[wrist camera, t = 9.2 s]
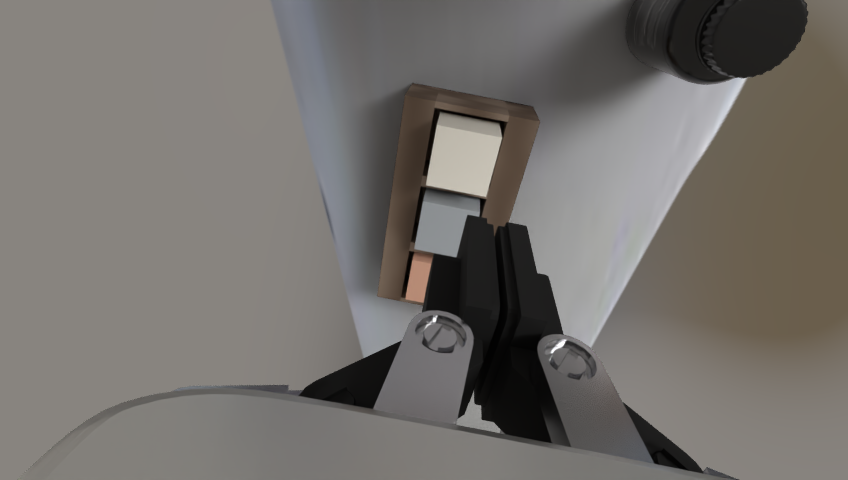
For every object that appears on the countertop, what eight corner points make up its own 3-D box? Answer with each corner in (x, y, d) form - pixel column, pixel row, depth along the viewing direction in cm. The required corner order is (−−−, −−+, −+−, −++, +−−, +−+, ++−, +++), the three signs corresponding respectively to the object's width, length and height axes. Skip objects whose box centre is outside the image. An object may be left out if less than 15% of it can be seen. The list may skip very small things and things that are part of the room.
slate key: (427, 182, 39) (423, 201, 36) (479, 192, 39) (480, 212, 36) (419, 227, 42) (414, 249, 39) (467, 237, 42) (467, 259, 39)
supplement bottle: (664, 82, 36) (740, 121, 25) (605, 32, 34) (661, 52, 24) (737, 6, 32) (860, 15, 22) (676, -54, 31) (776, -73, 21)
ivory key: (440, 111, 35) (436, 125, 31) (499, 123, 35) (502, 137, 31) (430, 167, 37) (425, 185, 34) (484, 177, 37) (486, 197, 34)
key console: (385, 269, 49) (377, 296, 44) (412, 82, 38) (404, 95, 33) (478, 287, 49) (478, 316, 44) (532, 106, 38) (540, 121, 33)
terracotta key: (417, 239, 44) (412, 260, 41) (463, 248, 44) (463, 270, 41) (410, 276, 47) (405, 299, 43) (454, 285, 47) (452, 308, 43)
